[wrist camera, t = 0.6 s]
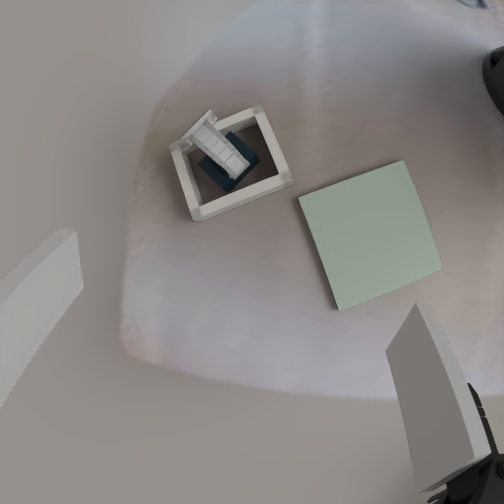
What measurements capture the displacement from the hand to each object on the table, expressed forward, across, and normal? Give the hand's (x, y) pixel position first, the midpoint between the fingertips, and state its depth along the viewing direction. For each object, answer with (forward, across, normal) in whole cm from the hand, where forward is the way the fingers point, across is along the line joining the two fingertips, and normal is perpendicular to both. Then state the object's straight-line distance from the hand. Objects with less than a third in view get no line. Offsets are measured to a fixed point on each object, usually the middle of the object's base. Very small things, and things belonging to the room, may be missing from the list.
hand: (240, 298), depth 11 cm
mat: (+24, +14, -6) cm, 28 cm away
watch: (+29, -4, -3) cm, 30 cm away
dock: (+29, -4, -3) cm, 29 cm away
